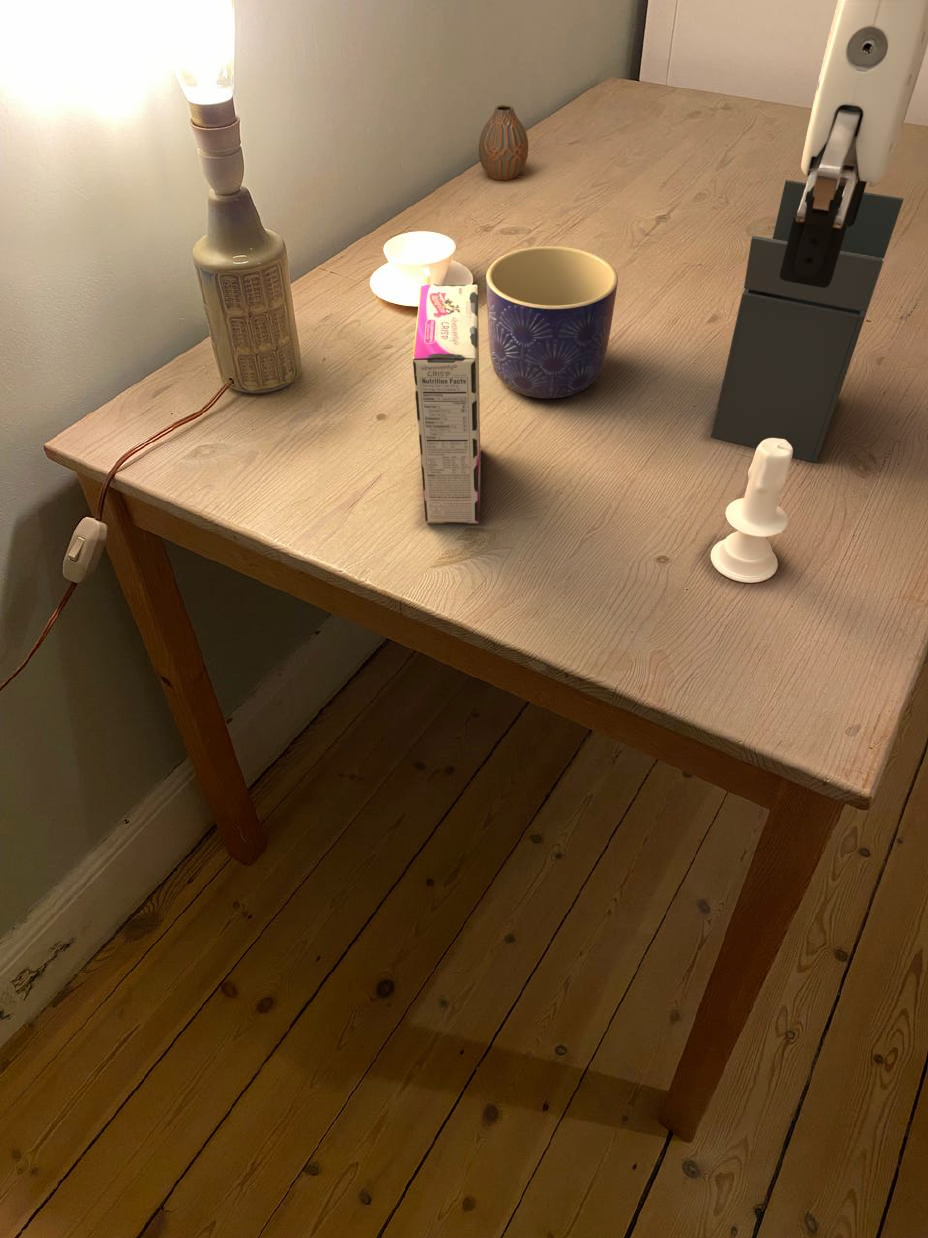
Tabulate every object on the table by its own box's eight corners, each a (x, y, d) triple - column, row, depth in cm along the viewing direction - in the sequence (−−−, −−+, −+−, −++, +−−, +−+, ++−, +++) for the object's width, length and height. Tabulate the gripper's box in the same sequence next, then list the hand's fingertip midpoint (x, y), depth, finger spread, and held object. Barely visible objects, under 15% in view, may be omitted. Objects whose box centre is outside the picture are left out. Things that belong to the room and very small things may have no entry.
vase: (491, 162, 133) (492, 95, 126) (535, 169, 130) (537, 102, 124) (470, 179, 129) (469, 111, 122) (515, 187, 126) (516, 119, 120)
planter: (523, 424, 88) (527, 319, 80) (465, 363, 96) (463, 262, 88) (630, 390, 92) (644, 287, 84) (566, 334, 99) (573, 234, 91)
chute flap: (866, 309, 72) (865, 311, 72) (744, 285, 75) (743, 288, 75) (882, 258, 68) (881, 261, 68) (752, 235, 71) (751, 238, 70)
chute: (816, 463, 83) (885, 253, 69) (710, 437, 86) (755, 231, 72) (838, 398, 90) (905, 196, 76) (739, 376, 93) (786, 177, 79)
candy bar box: (427, 448, 86) (418, 282, 74) (481, 448, 86) (480, 281, 74) (421, 526, 78) (410, 355, 66) (479, 526, 78) (479, 355, 66)
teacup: (390, 325, 101) (386, 279, 97) (357, 278, 109) (353, 234, 105) (489, 304, 104) (489, 259, 100) (451, 259, 112) (450, 216, 108)
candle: (790, 563, 74) (831, 442, 66) (748, 593, 72) (785, 472, 63) (738, 530, 77) (771, 409, 68) (696, 558, 75) (725, 437, 66)
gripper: (962, -13, 43) (854, 320, 56) (987, -83, 54) (892, 210, 66) (800, -27, 45) (732, 297, 58) (855, -91, 56) (788, 193, 69)
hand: (817, 250), depth 62 cm, fingers open, 9 cm apart
